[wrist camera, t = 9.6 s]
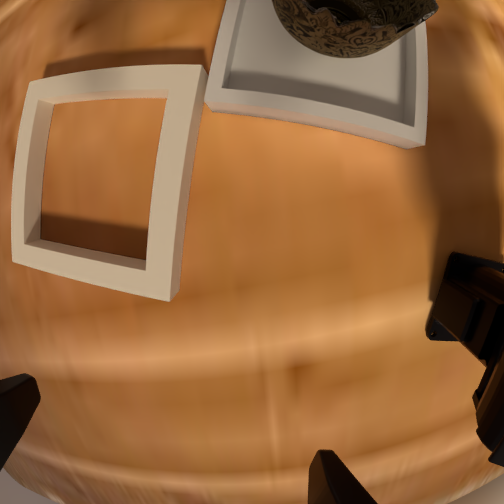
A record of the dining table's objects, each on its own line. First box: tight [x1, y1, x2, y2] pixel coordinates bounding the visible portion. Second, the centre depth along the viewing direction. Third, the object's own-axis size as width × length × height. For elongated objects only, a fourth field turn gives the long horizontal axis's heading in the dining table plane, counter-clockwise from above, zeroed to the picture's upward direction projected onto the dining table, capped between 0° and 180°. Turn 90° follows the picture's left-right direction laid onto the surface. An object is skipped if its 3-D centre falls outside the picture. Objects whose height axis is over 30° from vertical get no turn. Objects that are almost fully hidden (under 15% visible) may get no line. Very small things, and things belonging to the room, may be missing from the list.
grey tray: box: [204, 0, 428, 149], centre depth 14 cm, size 12×12×2 cm
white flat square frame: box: [11, 64, 209, 302], centre depth 17 cm, size 14×14×2 cm
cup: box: [272, 0, 439, 58], centre depth 10 cm, size 8×7×8 cm
